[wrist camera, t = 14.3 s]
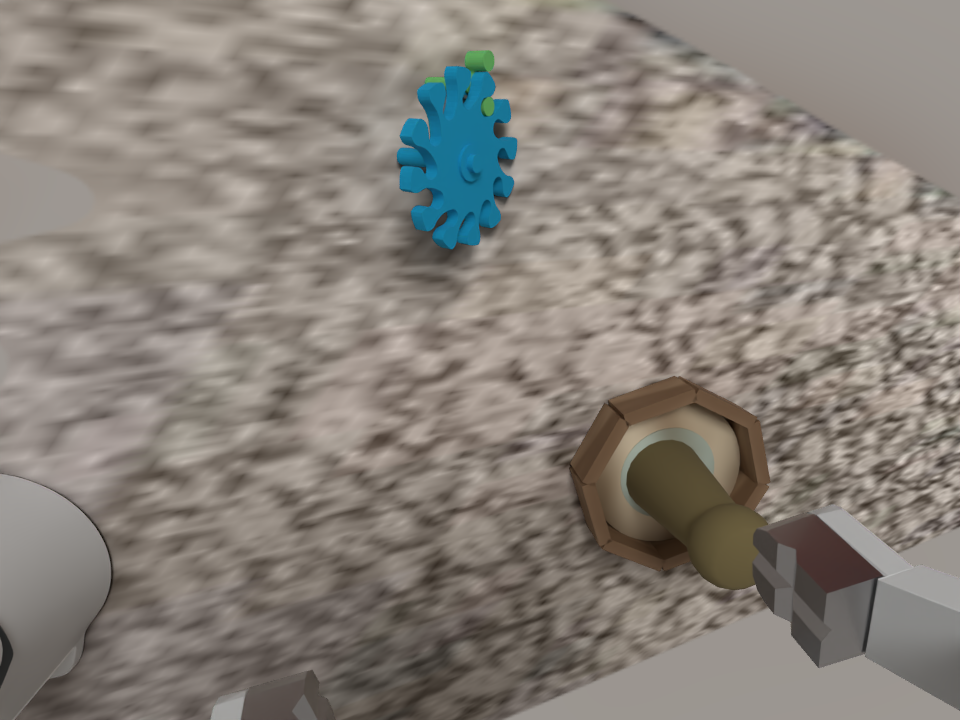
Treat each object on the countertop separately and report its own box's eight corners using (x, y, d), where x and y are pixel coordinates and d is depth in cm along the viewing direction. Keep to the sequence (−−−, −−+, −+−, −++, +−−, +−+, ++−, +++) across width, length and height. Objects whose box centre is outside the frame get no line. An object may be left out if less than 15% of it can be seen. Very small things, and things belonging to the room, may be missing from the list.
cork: (621, 449, 43) (696, 532, 32) (697, 431, 43) (794, 507, 33) (630, 518, 45) (702, 617, 34) (702, 500, 45) (796, 592, 35)
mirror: (599, 566, 47) (612, 590, 44) (554, 419, 43) (566, 435, 40) (755, 507, 48) (778, 528, 45) (726, 356, 43) (750, 368, 41)
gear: (500, 266, 37) (399, 228, 29) (431, 251, 40) (322, 213, 32) (544, 95, 36) (453, 4, 28) (471, 94, 39) (368, 12, 31)
